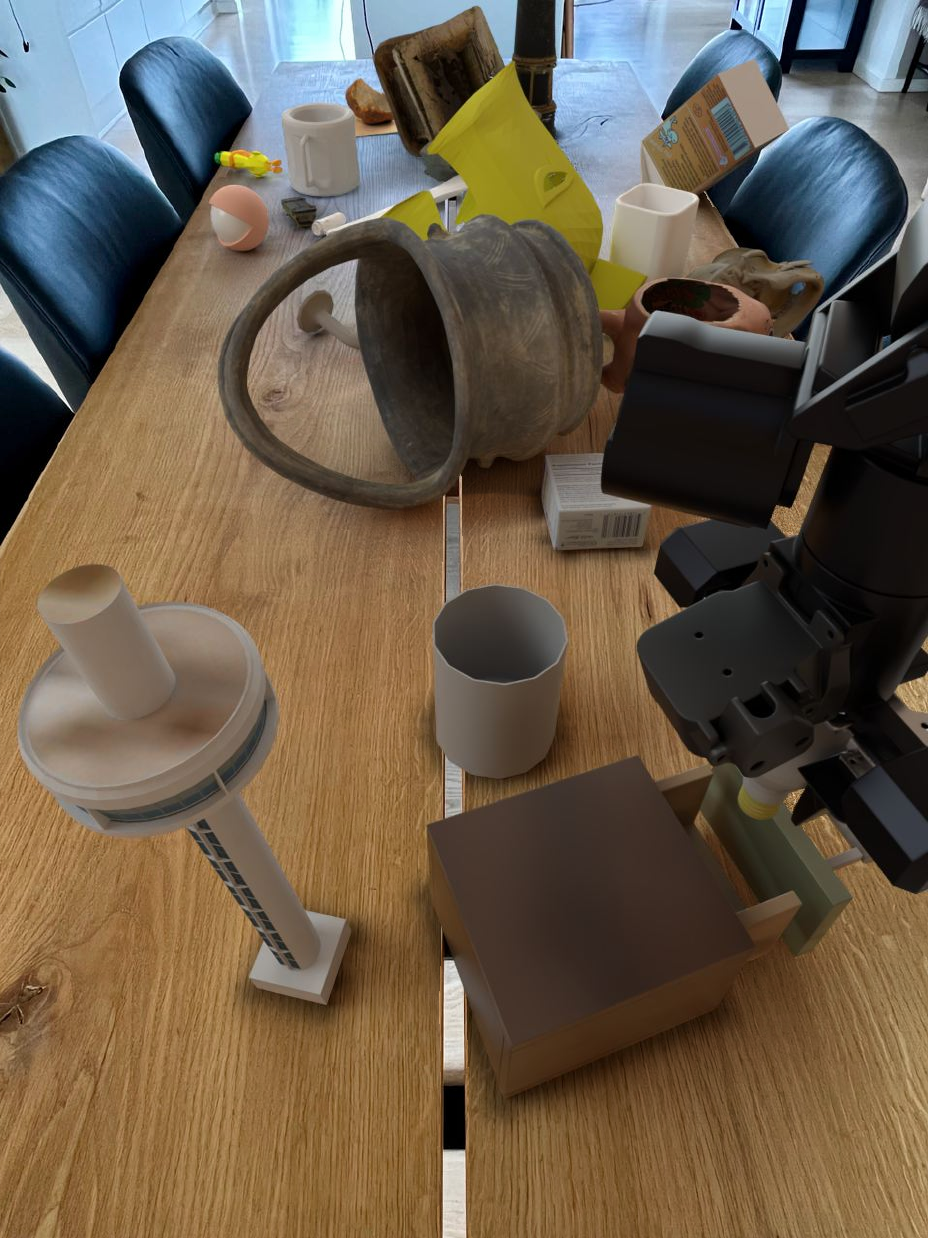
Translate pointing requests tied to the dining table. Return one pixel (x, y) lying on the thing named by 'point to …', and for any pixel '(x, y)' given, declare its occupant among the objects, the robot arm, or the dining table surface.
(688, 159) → the milk carton
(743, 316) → the decorative planter
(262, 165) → the toy figure
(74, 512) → the dining table surface
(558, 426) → the ancient clay pot
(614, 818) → the cabinet
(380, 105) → the bread chunk
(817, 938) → the drawer
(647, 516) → the box
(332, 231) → the spatula
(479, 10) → the brown square vessel
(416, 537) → the dining table surface
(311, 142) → the mug
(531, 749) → the cup
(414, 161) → the dining table surface
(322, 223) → the small white plastic part
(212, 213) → the toy ball
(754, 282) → the skull
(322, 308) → the toilet paper hanger
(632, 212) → the cup
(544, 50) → the black tall cylinder
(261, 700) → the model tower
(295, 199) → the dark green crate
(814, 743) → the light bulb
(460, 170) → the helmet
